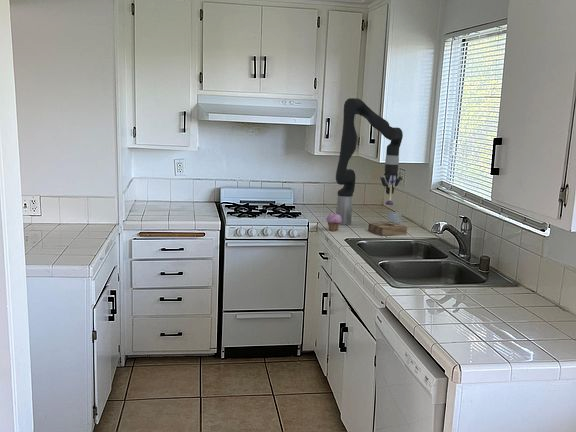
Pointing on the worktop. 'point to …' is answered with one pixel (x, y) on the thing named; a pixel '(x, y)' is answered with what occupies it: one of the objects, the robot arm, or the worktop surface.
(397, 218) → the medicine box
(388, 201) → the toy lamp
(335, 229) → the cupcake
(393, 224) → the socket block
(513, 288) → the worktop surface
